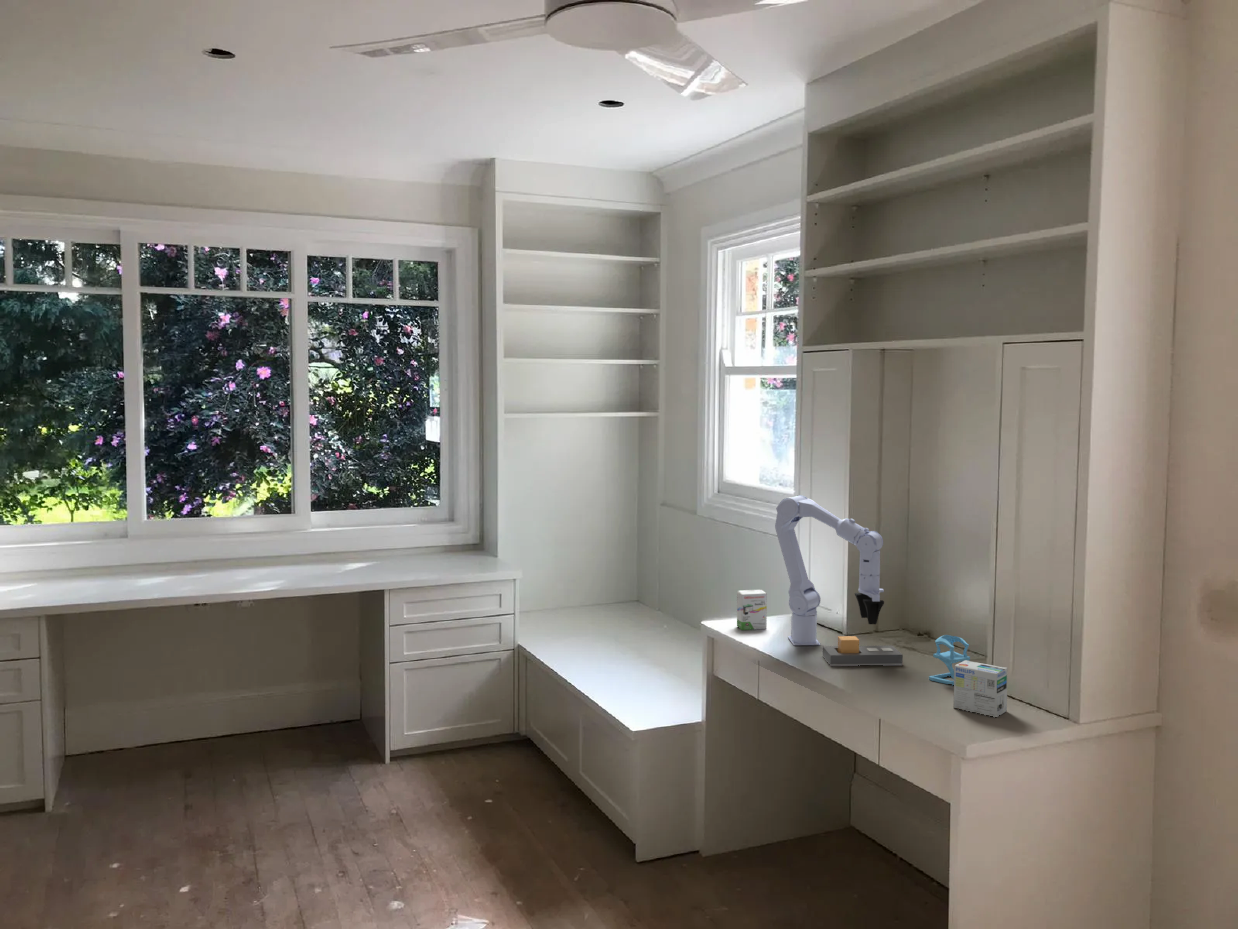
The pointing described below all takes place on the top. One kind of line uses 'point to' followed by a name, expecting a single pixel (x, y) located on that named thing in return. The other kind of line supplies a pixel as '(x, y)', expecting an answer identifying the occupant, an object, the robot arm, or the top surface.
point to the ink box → (751, 609)
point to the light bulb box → (980, 688)
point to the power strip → (863, 656)
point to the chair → (949, 657)
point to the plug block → (848, 644)
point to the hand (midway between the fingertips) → (868, 620)
